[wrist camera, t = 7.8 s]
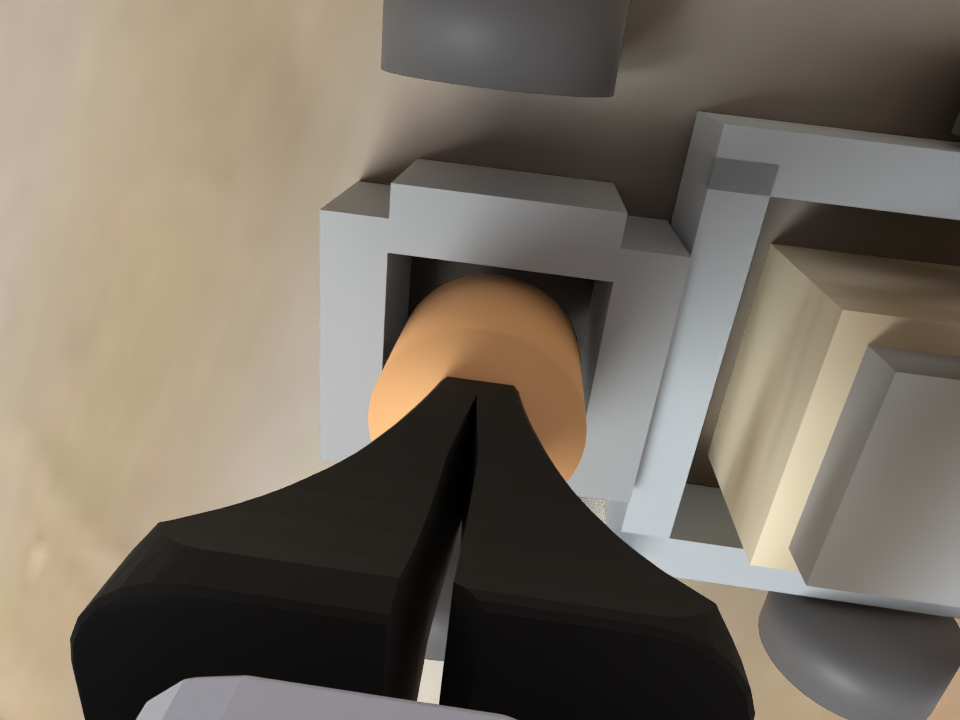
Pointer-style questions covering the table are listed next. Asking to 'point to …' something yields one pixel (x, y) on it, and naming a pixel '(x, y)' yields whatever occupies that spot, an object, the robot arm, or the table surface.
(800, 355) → the two-tone stepped block
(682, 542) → the frame
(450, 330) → the orange rounded peg
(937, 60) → the table surface
